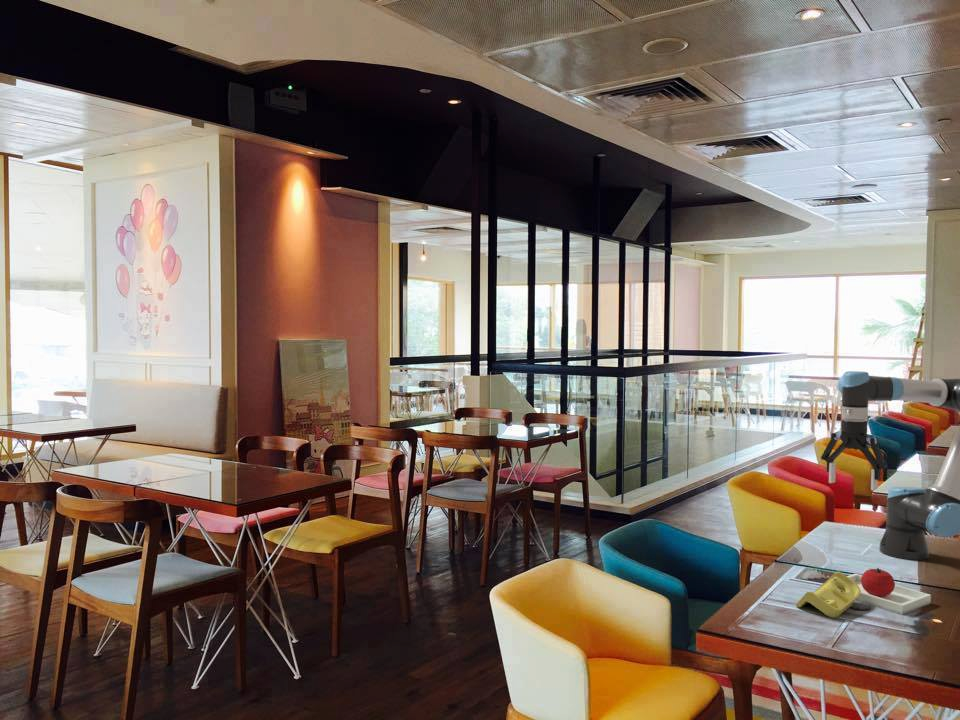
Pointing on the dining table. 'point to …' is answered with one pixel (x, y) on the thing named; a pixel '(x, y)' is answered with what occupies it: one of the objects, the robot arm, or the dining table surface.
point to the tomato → (877, 582)
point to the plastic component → (833, 595)
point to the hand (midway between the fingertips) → (852, 486)
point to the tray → (893, 598)
